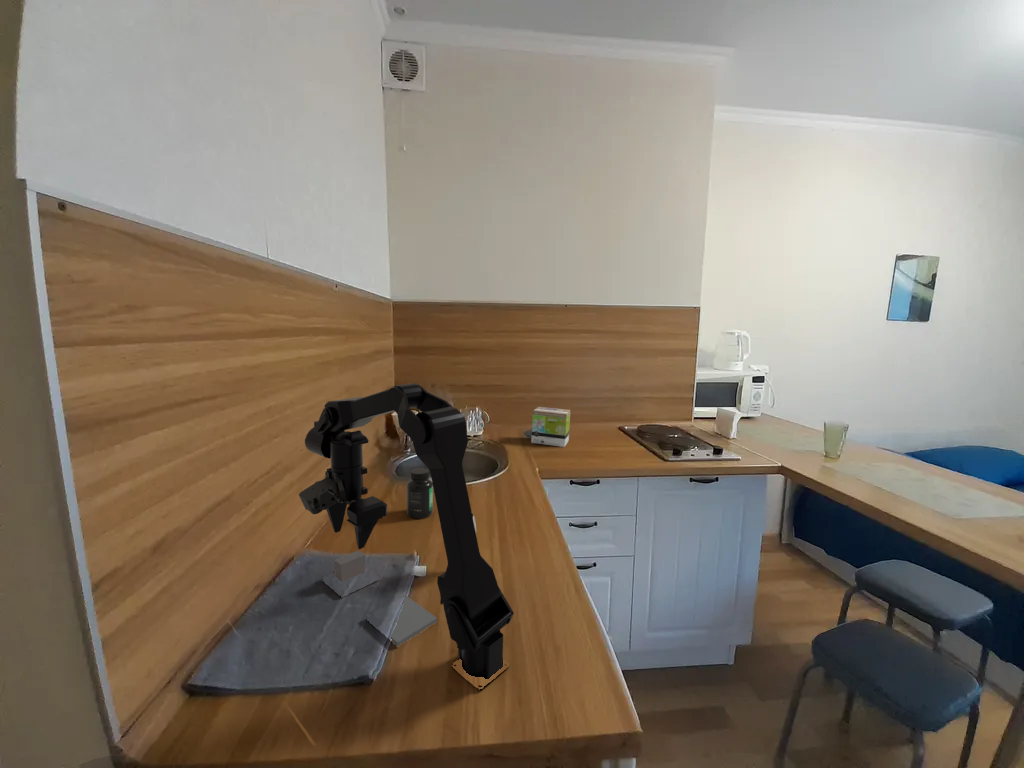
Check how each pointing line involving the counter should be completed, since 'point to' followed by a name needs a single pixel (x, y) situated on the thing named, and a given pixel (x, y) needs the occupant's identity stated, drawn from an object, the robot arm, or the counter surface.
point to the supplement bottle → (419, 494)
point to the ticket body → (411, 621)
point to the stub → (350, 566)
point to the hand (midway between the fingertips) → (348, 539)
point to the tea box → (550, 426)
